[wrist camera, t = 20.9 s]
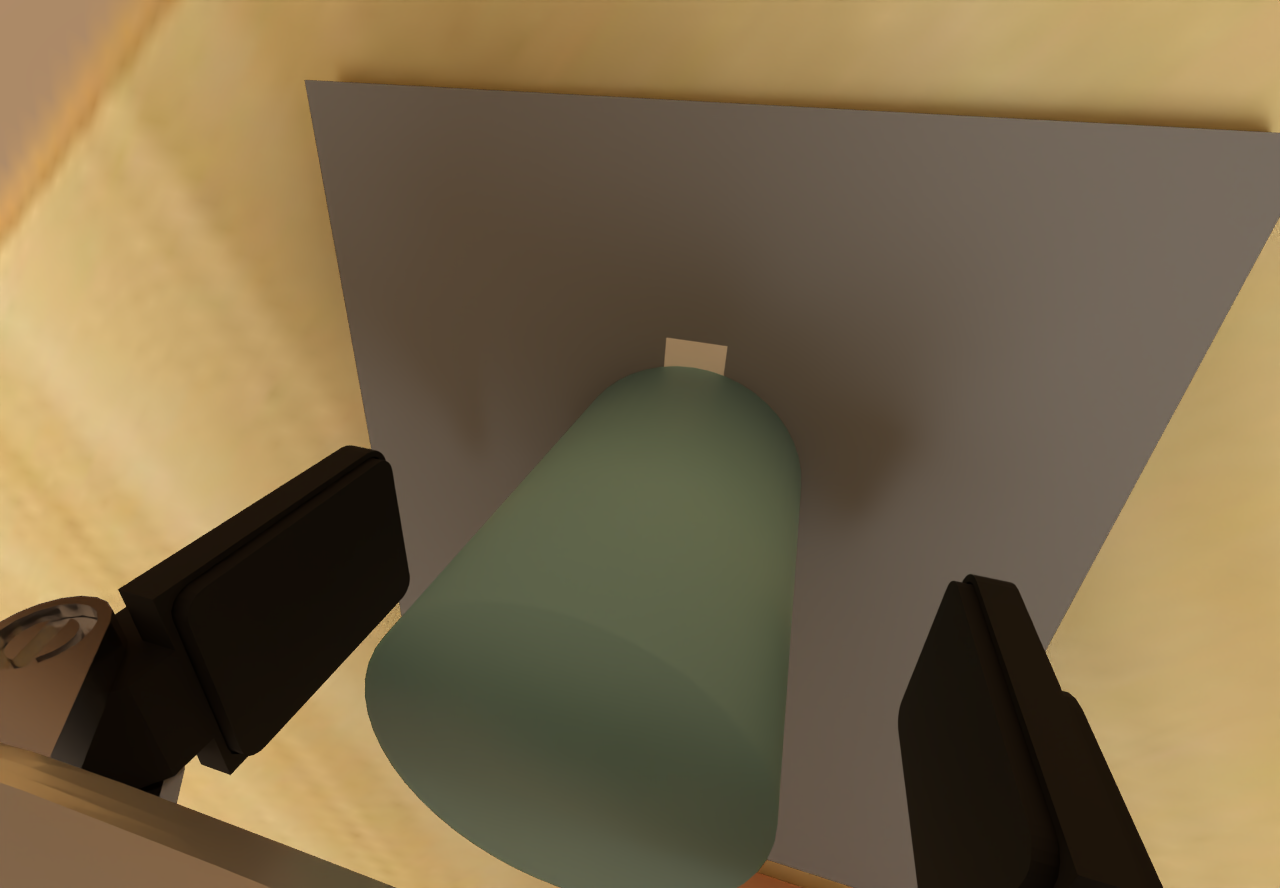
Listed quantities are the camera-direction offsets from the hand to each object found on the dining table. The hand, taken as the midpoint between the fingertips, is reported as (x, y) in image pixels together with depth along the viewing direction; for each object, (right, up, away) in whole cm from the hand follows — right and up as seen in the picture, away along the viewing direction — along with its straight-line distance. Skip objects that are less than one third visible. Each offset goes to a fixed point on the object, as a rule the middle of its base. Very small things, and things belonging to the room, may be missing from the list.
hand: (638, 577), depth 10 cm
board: (+1, -1, +5) cm, 5 cm away
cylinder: (+1, +2, +3) cm, 3 cm away
